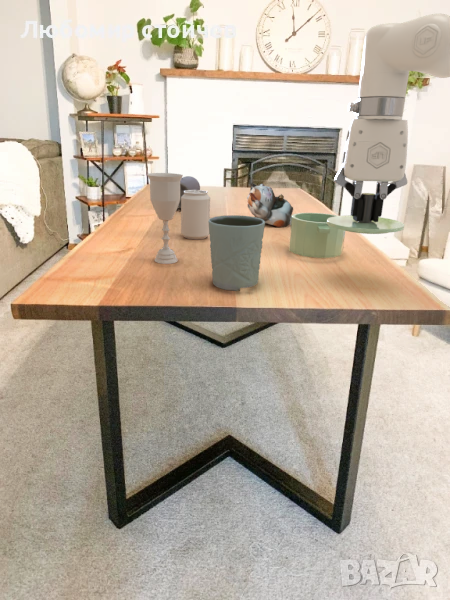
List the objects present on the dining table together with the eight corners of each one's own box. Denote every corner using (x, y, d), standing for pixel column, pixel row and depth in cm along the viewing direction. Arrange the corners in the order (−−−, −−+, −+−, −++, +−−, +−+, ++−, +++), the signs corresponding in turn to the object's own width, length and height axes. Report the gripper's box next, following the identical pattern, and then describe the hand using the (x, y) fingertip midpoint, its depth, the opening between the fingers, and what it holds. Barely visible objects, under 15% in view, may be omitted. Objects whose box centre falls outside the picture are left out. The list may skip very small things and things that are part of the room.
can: (177, 239, 114) (177, 191, 110) (185, 232, 121) (185, 188, 117) (206, 241, 113) (207, 193, 109) (211, 234, 120) (213, 189, 116)
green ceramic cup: (267, 291, 80) (272, 225, 76) (212, 293, 78) (214, 226, 74) (252, 273, 89) (256, 214, 85) (203, 275, 87) (204, 214, 83)
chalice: (143, 262, 94) (140, 174, 88) (158, 254, 100) (156, 172, 94) (174, 266, 92) (173, 177, 85) (188, 258, 98) (188, 174, 91)
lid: (389, 222, 87) (394, 190, 85) (414, 237, 74) (421, 200, 72) (320, 220, 88) (323, 188, 85) (333, 235, 75) (337, 198, 73)
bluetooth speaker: (177, 200, 172) (177, 174, 169) (201, 202, 172) (201, 175, 168) (164, 210, 151) (163, 180, 148) (191, 212, 150) (191, 182, 147)
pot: (334, 244, 115) (338, 211, 112) (349, 264, 98) (354, 226, 95) (285, 242, 115) (288, 209, 112) (292, 262, 98) (296, 224, 95)
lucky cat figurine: (291, 229, 130) (273, 186, 124) (254, 240, 136) (235, 200, 129) (297, 206, 142) (281, 167, 135) (263, 217, 147) (246, 180, 140)
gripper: (335, 108, 71) (324, 223, 77) (437, 110, 70) (417, 225, 77) (327, 111, 78) (317, 215, 84) (419, 112, 77) (402, 218, 84)
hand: (365, 219), depth 80 cm, fingers closed on lid, 2 cm apart
